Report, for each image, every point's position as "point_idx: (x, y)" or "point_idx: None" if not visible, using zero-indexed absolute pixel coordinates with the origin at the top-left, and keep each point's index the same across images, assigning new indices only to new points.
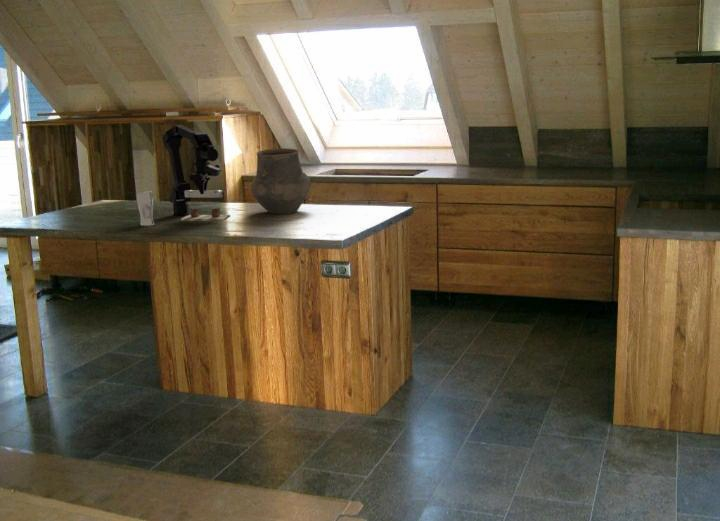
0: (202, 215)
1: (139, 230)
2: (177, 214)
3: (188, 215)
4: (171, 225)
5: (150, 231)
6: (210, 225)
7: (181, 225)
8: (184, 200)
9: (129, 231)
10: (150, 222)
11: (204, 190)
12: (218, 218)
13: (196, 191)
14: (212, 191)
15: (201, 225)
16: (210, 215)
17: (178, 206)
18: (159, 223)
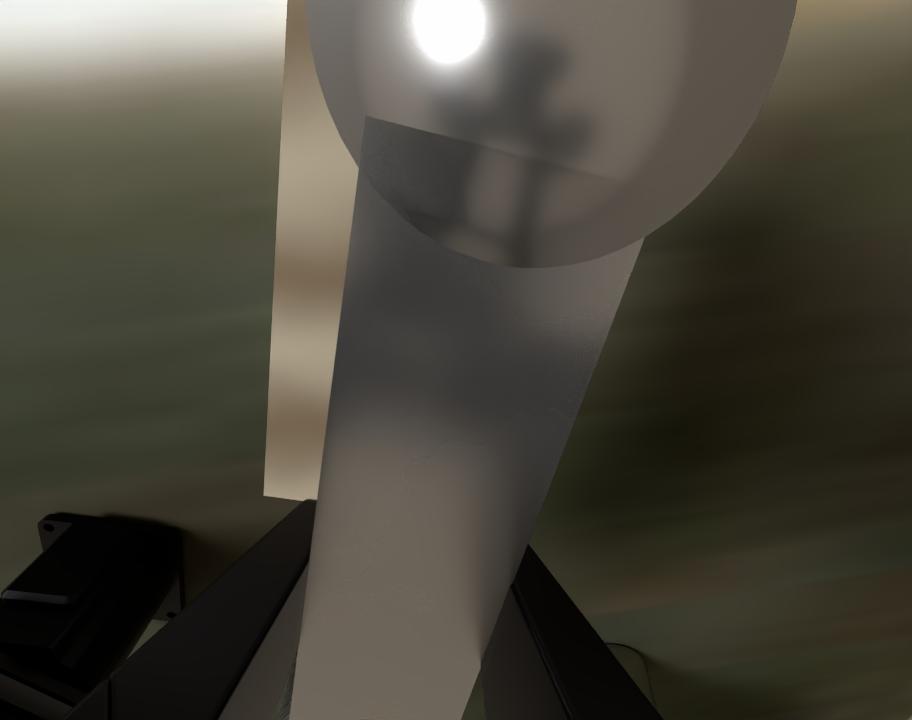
0: (314, 367)
1: (809, 670)
2: (180, 588)
3: (299, 497)
4: (700, 539)
5: (895, 613)
6: (904, 196)
7: (740, 471)
8: (2, 675)
9: (813, 704)
10: (643, 675)
11: (383, 582)
12: None
13: (455, 714)
14: (612, 292)
15: (843, 298)
16: (327, 274)
17: (124, 652)
18: None
